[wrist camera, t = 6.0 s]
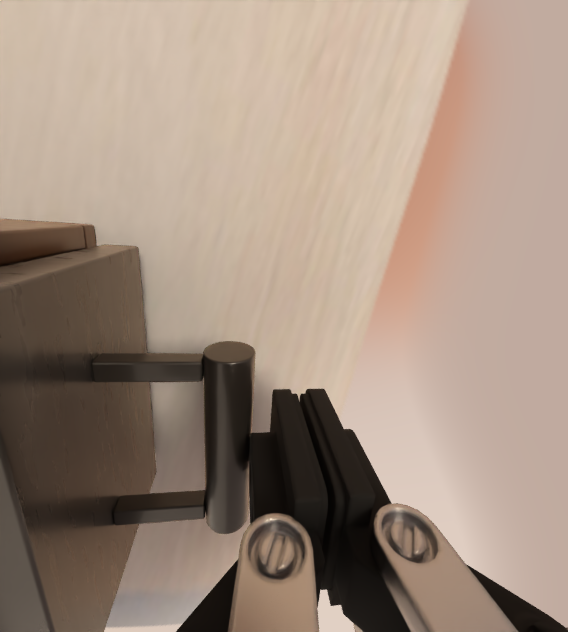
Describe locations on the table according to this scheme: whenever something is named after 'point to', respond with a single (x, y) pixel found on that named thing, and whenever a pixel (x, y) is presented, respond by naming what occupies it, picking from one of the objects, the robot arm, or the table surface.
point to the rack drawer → (97, 435)
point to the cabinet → (41, 239)
